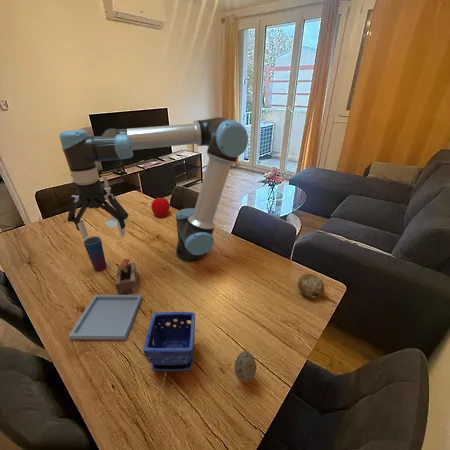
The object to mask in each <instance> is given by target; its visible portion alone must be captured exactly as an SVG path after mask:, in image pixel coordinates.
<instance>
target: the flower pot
mask: <svg viewBox="0 0 450 450" xmlns="http://www.w3.org/2000/svg"><path fill="white" fill-rule="evenodd" d="M176 320H177V321H176ZM188 321H190V323H188ZM167 323H169V325H167ZM195 326H196V313H195V312H193V311H159V312H154V313H152V316H151V318H150V321H149V325H148V329H147V333H146V337H145V340H144V341H145V342H144V345H143V353H144V357H145V358H146V360H147V361H148V362H149V363H150V364H152V365H151V370H152V371H153V372H183V371H184V372H185V371H186V372H188V371H191V370H192V367H193V359H194V350H195V341H196V340H195V334H196V333H195V332H196V328H195Z"/></svg>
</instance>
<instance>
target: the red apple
mask: <svg viewBox="0 0 450 450" xmlns="http://www.w3.org/2000/svg"><path fill="white" fill-rule="evenodd" d="M170 208H171V207H170V202H169V201H168V199H167V198H166V197H157V198H155V199H154V200H153V201H152V202H151V211H152V212H153V214H154V216H155V217H158V218H166V217H167V216H168V215H169V211H170Z"/></svg>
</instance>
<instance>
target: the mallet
mask: <svg viewBox="0 0 450 450" xmlns="http://www.w3.org/2000/svg"><path fill="white" fill-rule="evenodd" d="M128 264H130V259H129V258H124V259H123V260H122V262H121V263H120V264H119V265H120V267H119V270H124V274H125V278H124V279H125V280H128V279H131V277H129V273H128V269H127V265H128Z"/></svg>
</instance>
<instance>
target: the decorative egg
mask: <svg viewBox="0 0 450 450" xmlns="http://www.w3.org/2000/svg"><path fill="white" fill-rule="evenodd" d="M256 371H257V362H256V360H255V357H254V356H253V354H252V353H251V352H250V351H248V350H244V351H241V352H240V353H239V354H238V355H237V357H236V359H235V363H234V373H235V375H236V377H237V379H238V380H240V381H242V382H249V381H251V380H252V379H254V377H255V375H256Z"/></svg>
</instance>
